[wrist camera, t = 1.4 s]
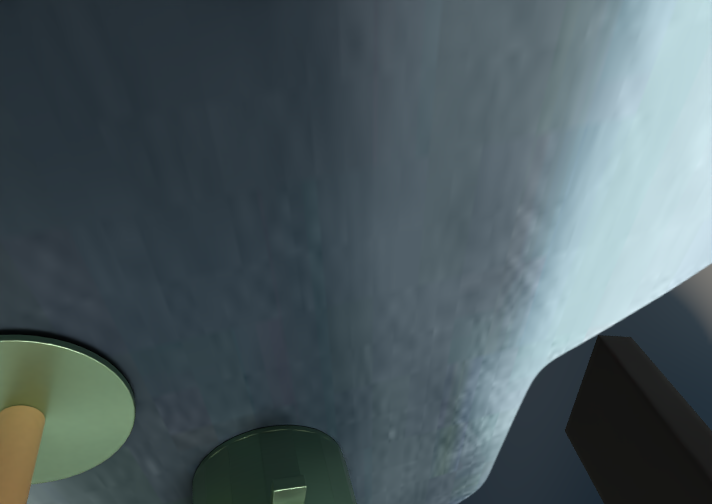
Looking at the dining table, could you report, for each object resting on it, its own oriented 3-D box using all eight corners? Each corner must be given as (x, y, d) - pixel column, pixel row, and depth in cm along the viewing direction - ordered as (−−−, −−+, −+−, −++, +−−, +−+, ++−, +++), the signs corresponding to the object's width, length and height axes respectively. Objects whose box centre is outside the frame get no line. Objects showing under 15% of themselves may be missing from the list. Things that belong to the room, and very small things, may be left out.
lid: (-68, 483, 43) (-125, 632, 35) (-135, 336, 35) (-230, 485, 27) (143, 458, 47) (135, 585, 39) (127, 320, 39) (113, 446, 31)
